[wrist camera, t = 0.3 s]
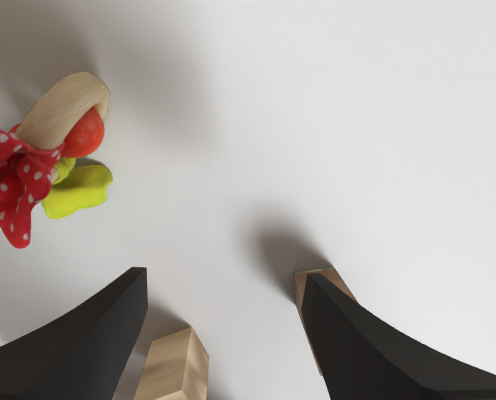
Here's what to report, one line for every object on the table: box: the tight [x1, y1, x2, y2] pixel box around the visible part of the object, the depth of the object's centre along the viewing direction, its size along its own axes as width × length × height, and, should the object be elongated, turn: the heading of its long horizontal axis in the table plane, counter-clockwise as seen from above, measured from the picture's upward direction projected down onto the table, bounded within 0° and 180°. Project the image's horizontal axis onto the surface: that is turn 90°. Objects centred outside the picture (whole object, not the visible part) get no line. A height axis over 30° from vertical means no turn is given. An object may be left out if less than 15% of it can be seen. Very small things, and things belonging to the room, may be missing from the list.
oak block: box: [133, 327, 209, 400], centre depth 23 cm, size 4×4×6 cm
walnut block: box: [294, 267, 359, 376], centre depth 21 cm, size 4×4×7 cm
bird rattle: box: [0, 71, 113, 249], centre depth 15 cm, size 6×11×9 cm
